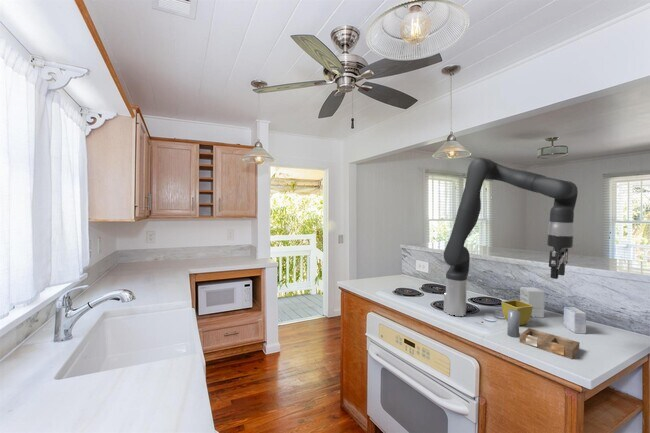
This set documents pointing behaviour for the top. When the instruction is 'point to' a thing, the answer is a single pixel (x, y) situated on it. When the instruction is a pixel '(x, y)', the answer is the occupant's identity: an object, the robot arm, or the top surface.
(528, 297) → the supplement box
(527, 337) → the socket block
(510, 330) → the plug
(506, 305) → the flower pot
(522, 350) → the top surface
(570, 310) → the medicine box
